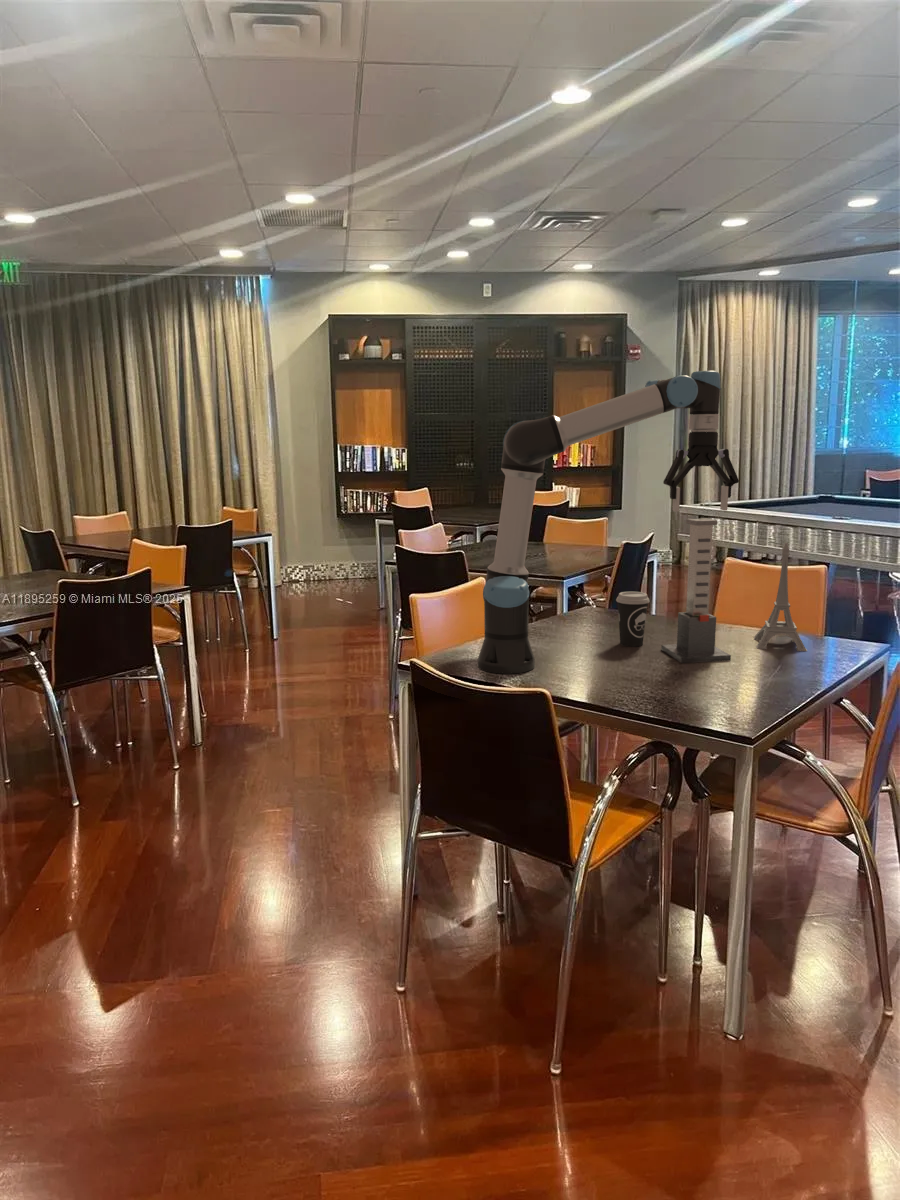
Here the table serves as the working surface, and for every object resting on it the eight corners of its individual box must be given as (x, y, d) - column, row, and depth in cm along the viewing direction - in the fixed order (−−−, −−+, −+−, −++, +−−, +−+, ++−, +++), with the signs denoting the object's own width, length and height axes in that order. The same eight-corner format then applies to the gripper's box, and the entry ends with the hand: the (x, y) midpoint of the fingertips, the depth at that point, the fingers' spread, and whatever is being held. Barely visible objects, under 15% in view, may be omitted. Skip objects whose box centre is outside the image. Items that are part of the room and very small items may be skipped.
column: (691, 620, 222) (695, 521, 217) (682, 616, 228) (686, 518, 223) (712, 620, 223) (717, 520, 218) (702, 615, 229) (707, 518, 224)
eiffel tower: (753, 638, 246) (759, 539, 240) (800, 640, 243) (808, 540, 237) (756, 649, 234) (763, 545, 228) (807, 651, 230) (815, 546, 224)
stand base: (681, 663, 220) (683, 618, 218) (661, 649, 234) (663, 607, 231) (730, 660, 222) (733, 616, 219) (707, 647, 235) (710, 605, 233)
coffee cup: (645, 640, 245) (647, 591, 242) (650, 648, 235) (652, 597, 232) (613, 639, 246) (614, 590, 243) (616, 647, 236) (618, 597, 233)
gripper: (663, 431, 213) (660, 513, 217) (754, 430, 216) (750, 510, 220) (653, 431, 220) (650, 510, 225) (741, 430, 223) (737, 508, 227)
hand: (699, 510), depth 222 cm, fingers open, 13 cm apart
